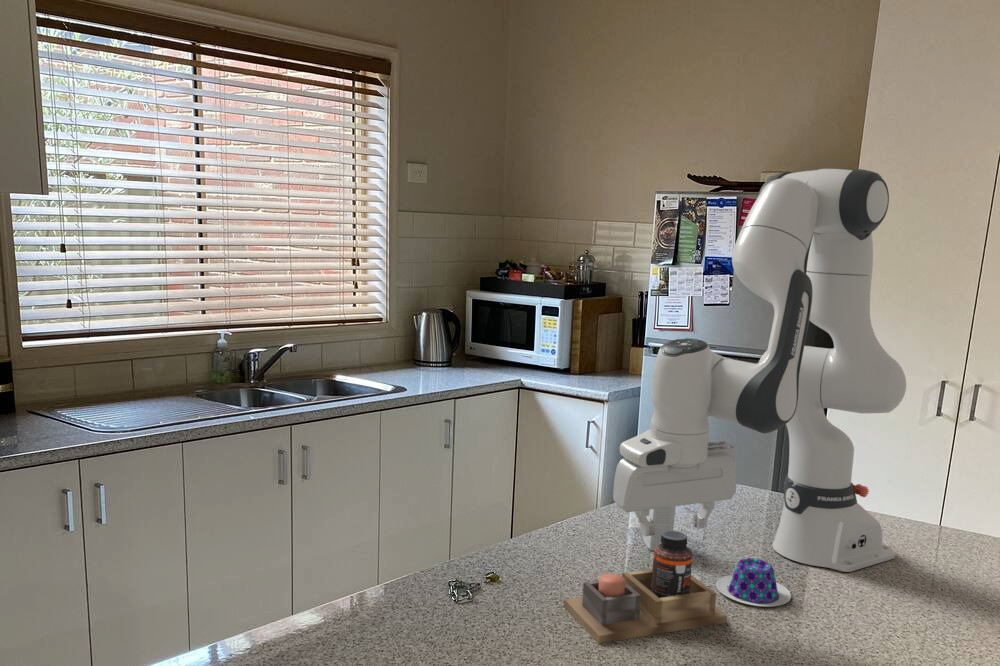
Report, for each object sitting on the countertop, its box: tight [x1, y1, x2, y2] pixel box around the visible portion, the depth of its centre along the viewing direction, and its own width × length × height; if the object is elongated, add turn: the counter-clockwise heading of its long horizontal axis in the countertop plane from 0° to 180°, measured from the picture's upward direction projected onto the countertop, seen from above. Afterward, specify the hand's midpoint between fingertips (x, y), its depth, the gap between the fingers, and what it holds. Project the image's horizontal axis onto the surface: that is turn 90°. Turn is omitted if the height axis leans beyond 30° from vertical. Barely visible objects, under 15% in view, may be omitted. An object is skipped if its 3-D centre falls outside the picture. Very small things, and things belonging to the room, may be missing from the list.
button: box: [598, 573, 626, 598], centre depth 126 cm, size 4×4×3 cm
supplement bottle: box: [651, 530, 693, 598], centre depth 130 cm, size 6×6×11 cm
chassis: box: [563, 568, 728, 644], centre depth 129 cm, size 22×12×5 cm, turn 111°
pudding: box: [716, 557, 792, 607], centre depth 138 cm, size 12×12×5 cm
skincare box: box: [642, 506, 677, 551], centre depth 156 cm, size 6×4×12 cm
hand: (673, 530), depth 129 cm, fingers open, 8 cm apart
